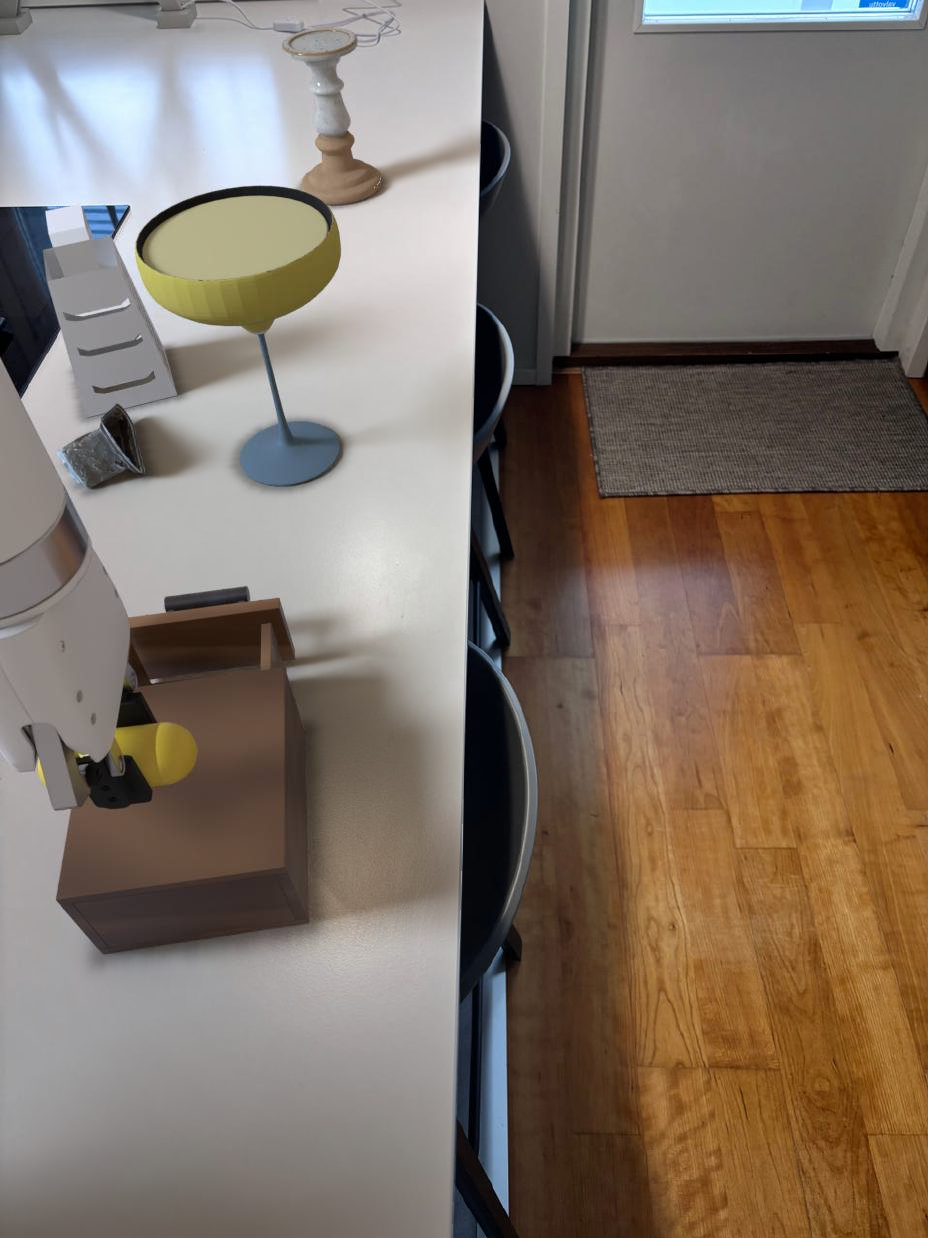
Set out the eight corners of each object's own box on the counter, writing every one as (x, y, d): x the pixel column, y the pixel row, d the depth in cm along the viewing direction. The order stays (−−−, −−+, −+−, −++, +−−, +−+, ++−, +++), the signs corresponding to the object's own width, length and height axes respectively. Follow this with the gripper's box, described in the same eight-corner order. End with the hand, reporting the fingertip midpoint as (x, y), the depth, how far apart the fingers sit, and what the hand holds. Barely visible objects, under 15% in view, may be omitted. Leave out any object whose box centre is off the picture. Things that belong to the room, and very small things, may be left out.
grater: (164, 349, 118) (110, 187, 103) (177, 395, 111) (121, 229, 96) (78, 369, 116) (11, 208, 101) (86, 417, 109) (15, 252, 94)
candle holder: (332, 213, 139) (308, 62, 124) (286, 188, 146) (257, 42, 131) (398, 185, 144) (382, 37, 129) (350, 162, 151) (329, 18, 136)
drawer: (145, 636, 85) (120, 583, 80) (294, 616, 85) (279, 563, 80) (121, 829, 72) (89, 781, 67) (297, 804, 73) (279, 754, 67)
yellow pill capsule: (55, 797, 56) (29, 803, 53) (50, 737, 57) (24, 738, 53) (207, 778, 57) (191, 782, 53) (201, 718, 57) (185, 718, 54)
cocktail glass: (366, 393, 109) (330, 173, 90) (381, 495, 97) (343, 265, 78) (208, 416, 108) (139, 197, 89) (203, 521, 96) (123, 295, 77)
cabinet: (127, 756, 77) (90, 692, 71) (305, 731, 78) (284, 666, 72) (101, 954, 66) (55, 900, 60) (309, 923, 67) (285, 867, 61)
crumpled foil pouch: (70, 434, 108) (22, 421, 96) (124, 404, 107) (83, 387, 96) (113, 508, 108) (70, 504, 96) (166, 479, 108) (130, 471, 96)
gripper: (-45, 440, 47) (88, 667, 61) (-149, 707, 37) (41, 910, 50) (106, 422, 48) (204, 652, 61) (46, 683, 37) (182, 892, 51)
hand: (129, 767), depth 56 cm, fingers closed on yellow pill capsule, 3 cm apart
